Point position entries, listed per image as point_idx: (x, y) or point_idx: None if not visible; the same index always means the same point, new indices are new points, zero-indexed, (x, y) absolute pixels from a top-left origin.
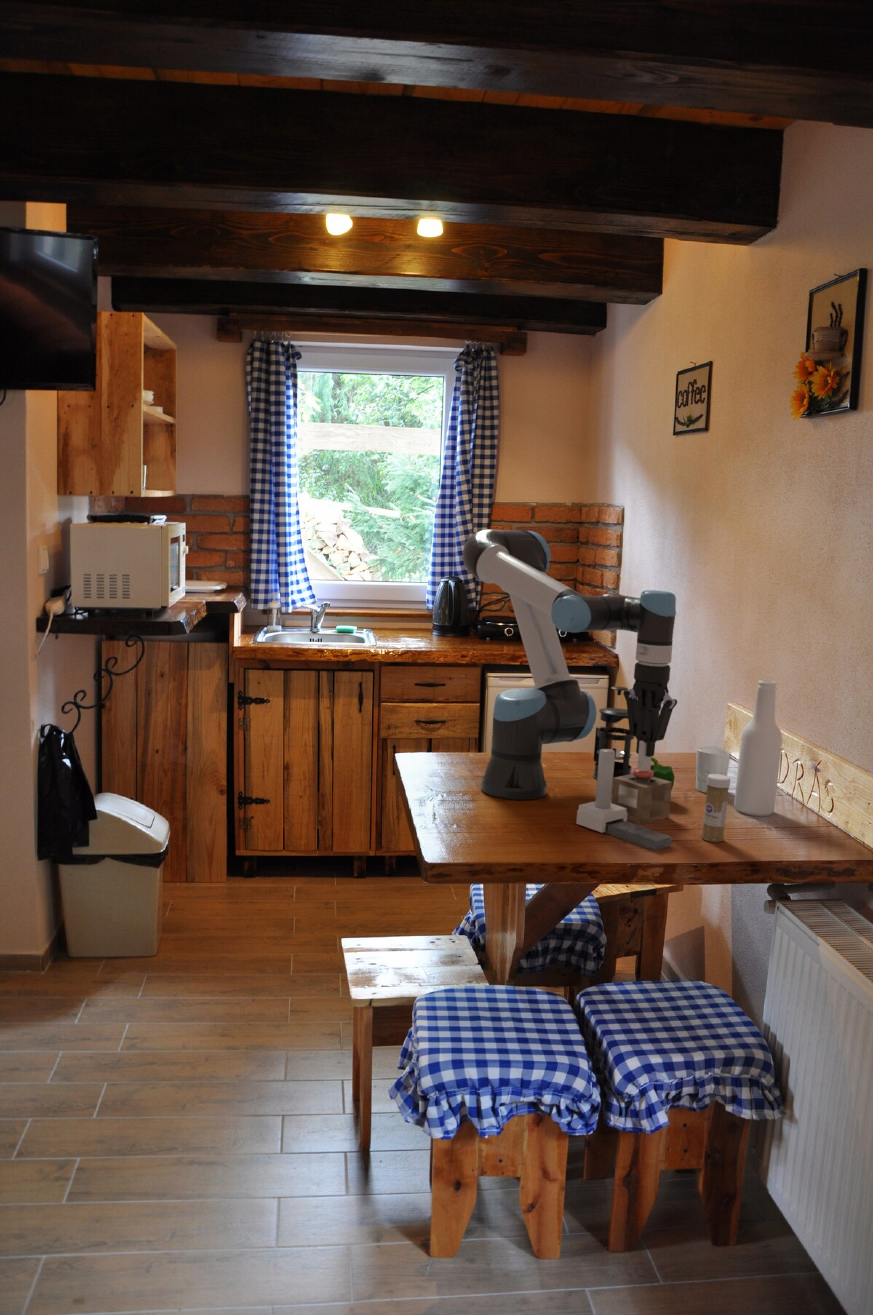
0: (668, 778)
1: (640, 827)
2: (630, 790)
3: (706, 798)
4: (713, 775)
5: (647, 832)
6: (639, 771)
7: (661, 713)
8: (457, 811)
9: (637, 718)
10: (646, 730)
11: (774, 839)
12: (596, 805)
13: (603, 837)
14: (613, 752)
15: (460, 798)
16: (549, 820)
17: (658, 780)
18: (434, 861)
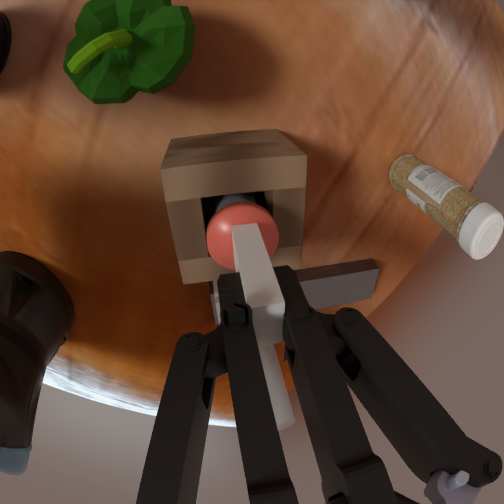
0: (192, 41)
1: (324, 282)
2: None
3: (440, 224)
4: (481, 243)
5: (345, 287)
6: None
7: (408, 451)
8: (114, 386)
9: (197, 423)
10: (296, 386)
11: (458, 80)
12: None
13: None
14: (294, 421)
15: (62, 364)
16: (180, 335)
17: (271, 183)
18: None
